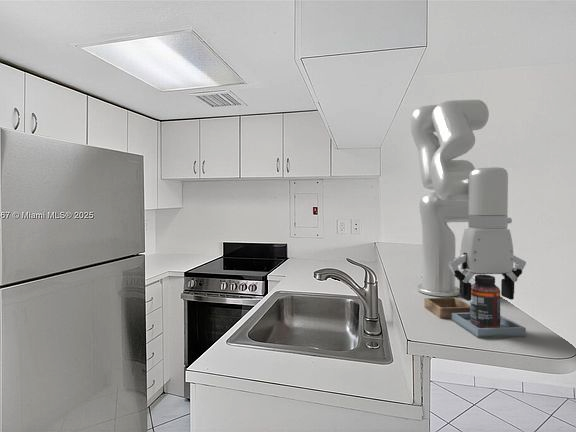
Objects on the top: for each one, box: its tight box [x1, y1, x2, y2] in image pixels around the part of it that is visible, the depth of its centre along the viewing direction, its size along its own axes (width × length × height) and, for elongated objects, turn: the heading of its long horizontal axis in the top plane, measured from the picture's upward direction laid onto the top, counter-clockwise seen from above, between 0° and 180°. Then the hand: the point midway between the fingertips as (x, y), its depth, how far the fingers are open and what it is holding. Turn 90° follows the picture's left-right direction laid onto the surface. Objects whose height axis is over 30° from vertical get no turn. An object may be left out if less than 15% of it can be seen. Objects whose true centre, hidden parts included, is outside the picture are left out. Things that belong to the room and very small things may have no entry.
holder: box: [423, 296, 470, 319], centre depth 86 cm, size 9×9×2 cm
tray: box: [451, 313, 527, 339], centre depth 75 cm, size 10×10×2 cm
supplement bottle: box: [469, 274, 501, 328], centre depth 75 cm, size 6×6×11 cm
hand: (486, 298), depth 75 cm, fingers open, 9 cm apart
